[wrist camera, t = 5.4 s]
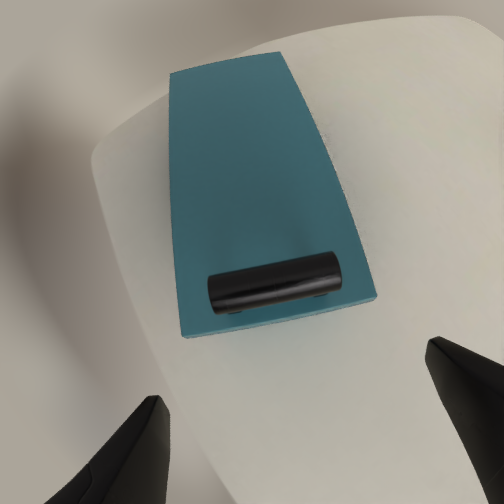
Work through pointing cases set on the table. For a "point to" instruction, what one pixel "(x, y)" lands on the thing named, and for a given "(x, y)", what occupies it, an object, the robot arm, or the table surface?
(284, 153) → the lid
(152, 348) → the table surface
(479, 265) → the table surface
